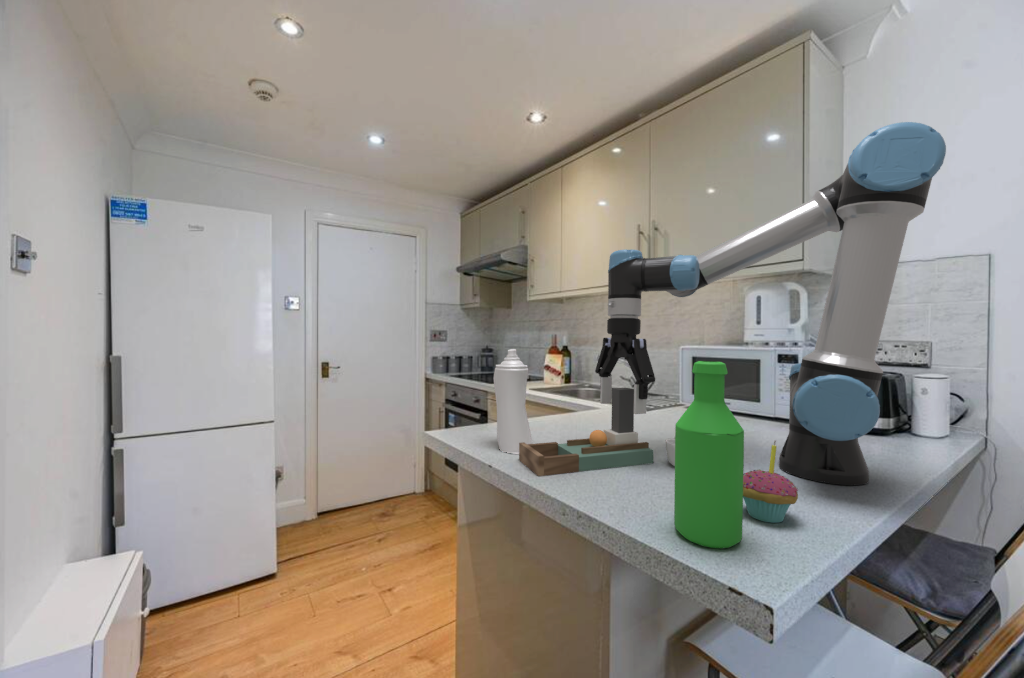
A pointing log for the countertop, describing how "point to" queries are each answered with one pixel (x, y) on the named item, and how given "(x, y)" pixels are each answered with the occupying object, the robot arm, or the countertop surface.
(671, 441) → the teacup
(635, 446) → the rails
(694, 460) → the bottle
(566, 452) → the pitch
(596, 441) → the ball
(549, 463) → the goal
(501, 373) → the spray can
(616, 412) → the block
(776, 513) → the cupcake
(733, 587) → the countertop surface
